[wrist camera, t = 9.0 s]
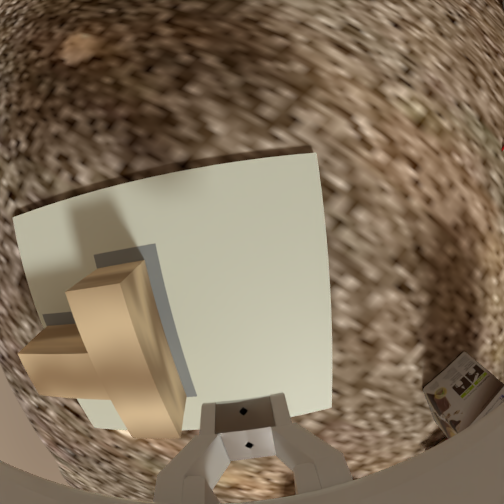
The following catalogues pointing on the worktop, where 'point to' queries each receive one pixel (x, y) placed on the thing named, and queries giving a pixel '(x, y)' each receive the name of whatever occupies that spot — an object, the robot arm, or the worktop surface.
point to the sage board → (205, 275)
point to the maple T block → (112, 353)
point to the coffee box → (463, 395)
